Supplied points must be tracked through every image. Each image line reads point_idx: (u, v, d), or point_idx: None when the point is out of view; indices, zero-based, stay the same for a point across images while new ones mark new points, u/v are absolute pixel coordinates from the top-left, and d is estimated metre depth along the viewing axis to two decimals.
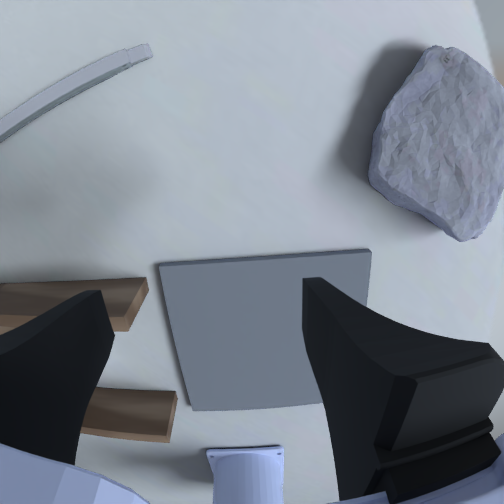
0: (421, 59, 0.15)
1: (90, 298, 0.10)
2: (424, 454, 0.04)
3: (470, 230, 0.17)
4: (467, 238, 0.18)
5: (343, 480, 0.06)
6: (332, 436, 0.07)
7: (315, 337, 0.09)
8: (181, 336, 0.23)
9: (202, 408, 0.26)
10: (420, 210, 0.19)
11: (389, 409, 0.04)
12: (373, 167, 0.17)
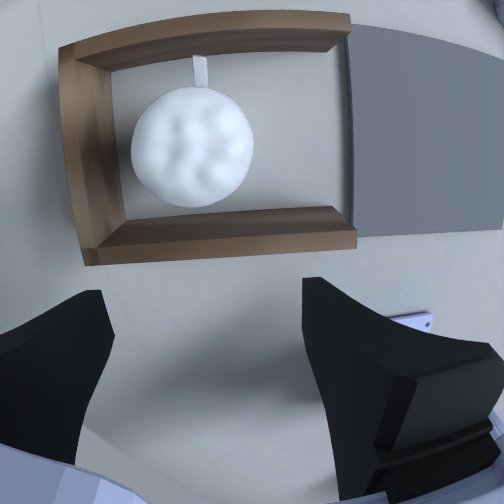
0: None
1: (90, 298, 0.10)
2: (423, 455, 0.04)
3: None
4: None
5: (343, 480, 0.06)
6: (332, 436, 0.07)
7: (315, 337, 0.09)
8: (361, 107, 0.18)
9: (365, 231, 0.21)
10: None
11: (390, 409, 0.04)
12: None
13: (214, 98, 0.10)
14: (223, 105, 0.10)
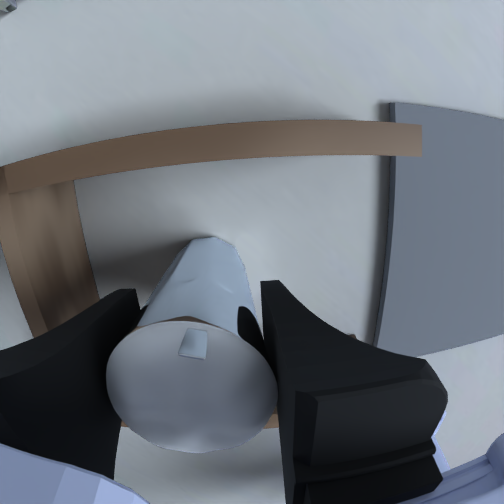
0: None
1: (126, 297, 0.10)
2: (347, 474, 0.04)
3: None
4: None
5: (286, 488, 0.06)
6: (280, 442, 0.07)
7: (268, 342, 0.09)
8: (404, 224, 0.14)
9: None
10: None
11: (298, 424, 0.04)
12: None
13: (220, 356, 0.07)
14: (235, 368, 0.07)
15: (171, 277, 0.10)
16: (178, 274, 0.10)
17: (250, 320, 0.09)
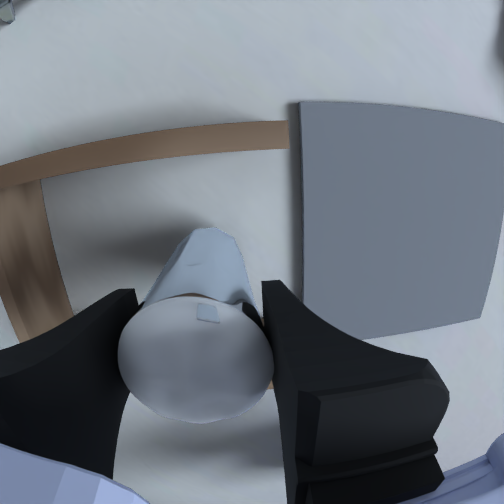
0: None
1: (125, 297, 0.10)
2: (349, 474, 0.04)
3: None
4: None
5: (288, 488, 0.06)
6: (282, 442, 0.07)
7: (269, 342, 0.09)
8: (315, 212, 0.16)
9: None
10: None
11: (300, 424, 0.04)
12: None
13: (226, 328, 0.08)
14: (239, 339, 0.08)
15: (178, 261, 0.11)
16: (184, 258, 0.11)
17: (250, 301, 0.10)
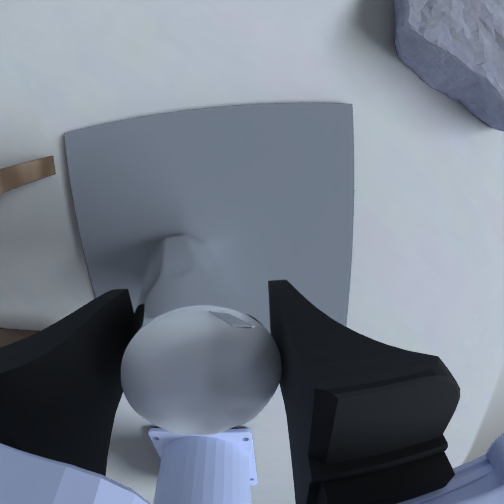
0: None
1: (119, 297, 0.10)
2: (361, 471, 0.04)
3: None
4: None
5: (297, 487, 0.06)
6: (290, 441, 0.07)
7: (277, 341, 0.09)
8: (90, 237, 0.15)
9: None
10: (464, 88, 0.12)
11: (315, 422, 0.04)
12: (402, 25, 0.11)
13: (240, 334, 0.08)
14: (253, 343, 0.08)
15: (163, 271, 0.11)
16: (169, 268, 0.11)
17: None
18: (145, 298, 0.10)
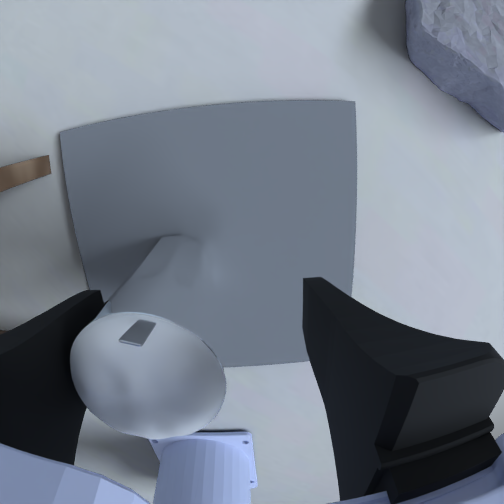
0: None
1: (89, 298, 0.10)
2: (424, 455, 0.04)
3: None
4: None
5: (344, 480, 0.06)
6: (332, 436, 0.07)
7: (316, 337, 0.09)
8: (86, 238, 0.15)
9: None
10: (475, 92, 0.12)
11: (391, 409, 0.04)
12: (414, 27, 0.10)
13: (167, 346, 0.07)
14: (181, 358, 0.07)
15: (135, 272, 0.11)
16: (142, 270, 0.11)
17: (203, 315, 0.09)
18: (108, 298, 0.10)
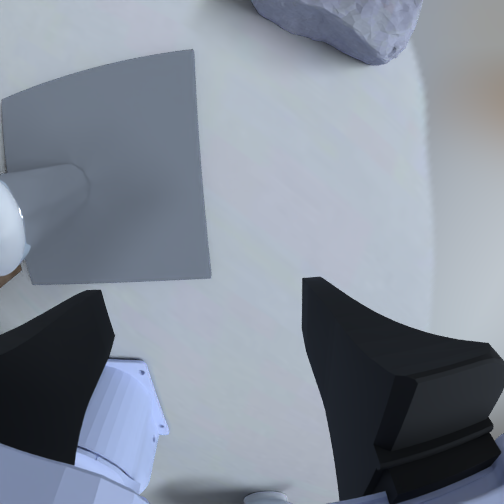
0: None
1: (90, 298, 0.10)
2: (423, 455, 0.04)
3: (382, 33, 0.13)
4: (383, 46, 0.13)
5: (343, 480, 0.06)
6: (332, 436, 0.07)
7: (315, 337, 0.09)
8: None
9: (39, 280, 0.20)
10: (317, 26, 0.14)
11: (390, 409, 0.04)
12: None
13: None
14: None
15: None
16: None
17: (28, 188, 0.12)
18: None
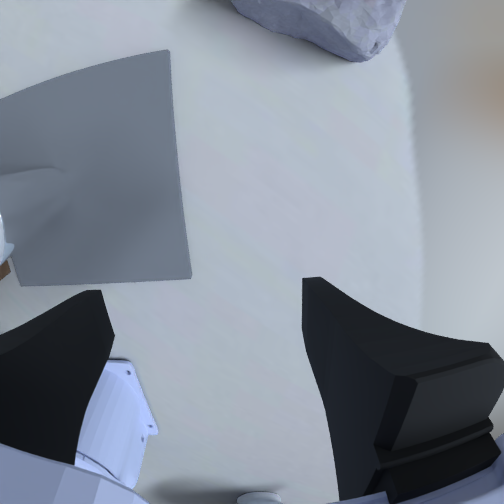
0: None
1: (90, 298, 0.10)
2: (424, 455, 0.04)
3: (362, 28, 0.12)
4: (364, 41, 0.13)
5: (343, 480, 0.06)
6: (332, 436, 0.07)
7: (316, 337, 0.09)
8: None
9: (27, 281, 0.20)
10: (297, 23, 0.14)
11: (389, 409, 0.04)
12: None
13: None
14: None
15: None
16: None
17: (9, 191, 0.11)
18: None
